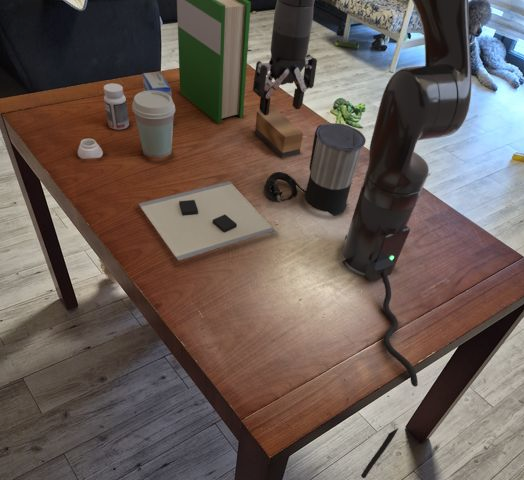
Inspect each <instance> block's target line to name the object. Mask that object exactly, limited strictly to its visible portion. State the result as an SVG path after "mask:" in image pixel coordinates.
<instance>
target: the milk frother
mask: <svg viewBox="0 0 524 480" xmlns="http://www.w3.org/2000/svg"><path fill="white" fill-rule="evenodd" d="M313 136H314V137H313V142H312V149H311V154H310V155H311V156H310V160H309V161H310V162H309V171H310V172H309V177H308V181H307V185H306V189H304V188H302V187H301V185H300V184H299V183H298V182H297V180H295V179H294V178H293V177H292V176H291V175H289V174H288V173H287V172H282V171H277V172H276V171H275V172H274V173H271V174H270V175H269V176H268V178H266V180H265V183H264V186H263V192H264V195H265V197H266V198H267V199H268V200H269V201H271V202H275V203H283V202H286V201H290V200H292V199H296V197H297V196H298V189H299V190H300V191H301V192H302V193H303V194H304V200H305V202H306V203H307V204H308V205H309V206H310V207H312V208H313V209H315V210H318V211H321V212H325V213H328V214H329V215H332V217H336V216H340V215H341V214H344V212H345V211H346V209H347V202H348V198H349V195H350V190H351V187H352V183H353V180H354V177H355V174H356V170H357V167H358V164H359V160H360V157H361V155H362V150H363V147H364V146H365V145H366V141H367V140H366V139H367V138H366V137H365V135H364V134H363V132H361V130H358V129H357V128H355V127H353V126H351V125H348V124H344V123H341V122H339V123H338V122H337V123H334V122H330V123H325V124H320V125H318V126H317V127H316V129H315V132H314V135H313ZM279 180H280V181H284V182H286V183H287V184H288V185H289V186H290V190H291V193H290V195H289V196H288V197H286V198H281V197H282V195H283V193H284V192H283V191H282V190H281V189H280V186H279V185H278V184H277V181H279Z"/></svg>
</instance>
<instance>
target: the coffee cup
mask: <svg viewBox="0 0 524 480" xmlns="http://www.w3.org/2000/svg"><path fill="white" fill-rule="evenodd" d="M131 110H132V112H133V113H134V117H135V121H136V126H137V131H138V135H139V139H140V144H141V148H142V152H143V153H142V154H143V156H147V157H148V158H153V159H163V158H167V157H169V156H170V155H172V150H173V149H172V147H173V132H174V117H175V113H176V106H175V103H174V101H173V97H172V98H171V96H170V95H168V94H166V93H164V92H161V91H154V90H149V91H144V90H143V91H140V92H138V93H136V94H135V95H134V97H133V101H132V104H131Z"/></svg>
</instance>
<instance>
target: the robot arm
mask: <svg viewBox="0 0 524 480" xmlns="http://www.w3.org/2000/svg"><path fill="white" fill-rule="evenodd" d="M411 1H412V3H413V6H414V8H415V11H416V12H417V15H418V17H419V21H420V23H421V27H422V32H423V40H424V41H423V42H424V62H425V63H424V65H419V66H408V67H403V68H400V69H398V70H397V71H395V72H394V73H393V74H392V75H391V77H390V78H389V80H388V82H387V84H386V85H385V87H384V90H383V92H382V96H381V99H380V103H379V107H378V111H377V115H376V119H375V124H374V129H373V132H372V136H371V139H370V144H369V153H368V157H369V159H368V166H367V169H366V173H365V176H364V179H363V182H362V186H361V188H360V190H359V191H360V192H359V194H358V198H357V201H356V204H355V208H354V211H353V213H352V217H351V221H350V225H349V227H348V231H347V234H346V235H345V237H344V244H343V247H342V257H343V260H342V263H343V265H344V266H345V267H346V268H347V269H348V270H350V271H351V272H352V273H354V274H357V275H359V276H363V277H365V278H366V279H367V280H369V282H371V283H373V282H375V281H379V280H381V279H382V283H383V284H384V292H385V295H384V299H383V303H382V309H383V313H384V314H385V316H386V317H387V318H388V319H389V320H390V322H391V327H389V328H388V329H387V331H386V332H385V333H384V334H383V338H382V341H383V345H384V347H385V349H386V351H387V352H388V353H389V354H390V355H391V356H392V357H393V358H394V359H395V360H397V361H398V362H399V363H400V364H401V365H402V366H403V367H404V368H405V370H406V371H407V372H408V375H409V378H410V383H411V385H412V386H413V387H418V383H419V382H418V375H417V372H416V370H415V368H414V366H413V365H412V364H411V362H409V360H408V359H407V358H406V357H405V356H403V355H402V354H401V353H400V352H398V351H397V350H396V349H395V348H394V347H393V346H392V344H391V341H390V339H391V337H392V335H393V334H394V333H395V332H396V331H397V329H398V327H399V321H398V319H397V317H396V316H395V315H394V313H393V312H392V311H391V309H390V302H391V299H392V287H391V283H390V280H389V276H391V274H392V271H394V270H395V267H396V264H397V262H398V260H399V258H400V256H401V253H402V250H403V248H404V246H405V243H406V241H407V239H408V237H409V234H410V233H411V228H410V227H409V226H408V225H409V221H410V219H411V217H412V214H413V212H414V210H415V207H416V205H417V202H418V200H419V198H420V195H421V193H422V191H423V188H424V186H425V184H426V181H427V180H428V176H429V173H430V171H429V170H430V169H429V164H428V162H427V161H426V159H424V158H423V157H422V156H421V155H419V154H418V153H417V152H415V149H416V146H417V144H418V143H417V142H418V141H423V140H430V139H431V140H432V139H439V138H445V137H448V136H452V135H454V134H456V132H458V131H459V130H460V128H461V127H462V126H463V124H464V122H465V121H466V119H467V117H468V113H469V110H470V104H471V99H472V62H471V61H472V60H471V59H472V58H471V42H470V20H469V19H470V17H469V16H470V15H469V0H411ZM314 6H315V0H276V4H275V9H274V14H273V22H272V23H273V24H272V32H271V42H270V59H269V62H262V61H260V60H258V61H257V62H256V64H255V71H254V78H253V85H252V91H253V92H254V93H255V94H256V95H257V96H258V97H259V98H260V99H259V111H261V112H262V113H263V114H264V115H268V114H269V109H270V106H271V100H272V99H271V96H272V95H273V93H274V92H275V91H277V90H278V89H279V88H280V86H283V85H287V84H294V85H295V87H296V88H294V92H293V99H292V107H293V108H294V109H295V110H300V109H301V107H302V105H303V104H304V103H303V102H304V97H305V93H306V92H307V90H308V89H312V88H314V86H315V79H316V78H315V77H316V71H317V64H318V60H317V58H315V57H314V56H313V55H311V54H310V53H309V54H308V51H309V44H310V39H311V32H312V26H313V21H314V20H313V19H314V9H315V8H314ZM302 71H303V76H302V73H301V72H302ZM273 80H274V82H273ZM398 430H399V427H397V428H395V429H394V430H393V431H391V432H389V433H388V435H387V436H386V438H385V439H384V441H383V442H382V444H381V445H380V447H379V448H378V450H377V451H376V452H375V454H374V455H373V457H372V458H371V460H370V461H369V462H368V464H367V465H366V466H365V468H364V470H363V471H362V473H361V478H362V479H366V477H367V476H368V474H369V473H370V472H371V470H372V468H373V467H374V466H375V465H376V463H377V461H378V460H379V459H380V457H381V456H382V455H383V454H384V452H385V451H386V449H387V448H388V446H390V444H391V442H392V440H393V439H394V438H395V436H396V434H397V432H398Z"/></svg>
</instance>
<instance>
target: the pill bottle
mask: <svg viewBox="0 0 524 480" xmlns="http://www.w3.org/2000/svg"><path fill="white" fill-rule="evenodd" d="M103 93H104V96H103V102H104V108H105V114H106V121H107V125H108V127H109V128H110V129H113V130H115V131H123V130H126V129H127V128H128V127H129V126H130V118H129V112H128V104H127V98H126V96H125V94H124V88H123V86H122V85H121V84H119V83H112V82H111V83H107V84H105V85H103Z"/></svg>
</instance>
